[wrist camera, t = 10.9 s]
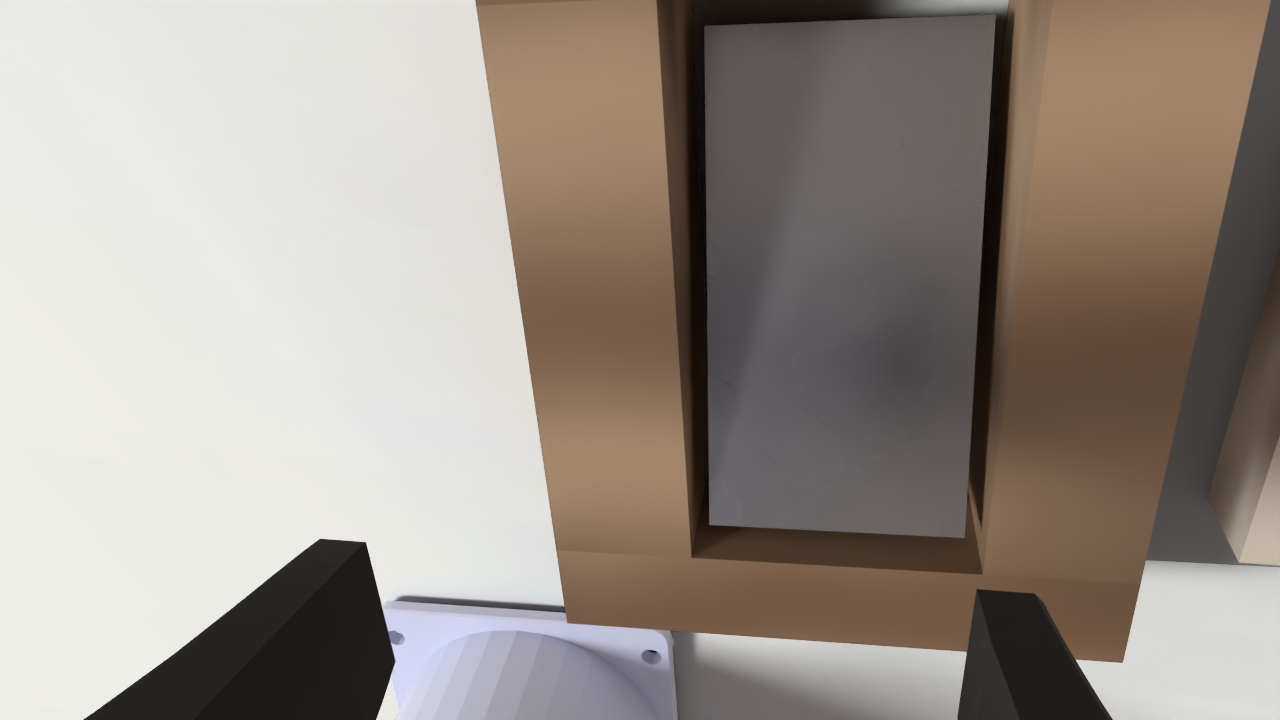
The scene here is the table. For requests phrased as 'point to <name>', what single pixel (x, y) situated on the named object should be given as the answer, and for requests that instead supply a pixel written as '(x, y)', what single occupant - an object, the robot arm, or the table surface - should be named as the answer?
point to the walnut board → (1006, 330)
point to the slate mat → (1226, 325)
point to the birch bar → (1254, 447)
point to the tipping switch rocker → (844, 270)
